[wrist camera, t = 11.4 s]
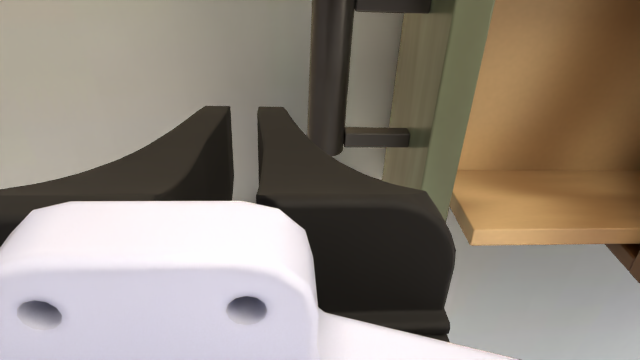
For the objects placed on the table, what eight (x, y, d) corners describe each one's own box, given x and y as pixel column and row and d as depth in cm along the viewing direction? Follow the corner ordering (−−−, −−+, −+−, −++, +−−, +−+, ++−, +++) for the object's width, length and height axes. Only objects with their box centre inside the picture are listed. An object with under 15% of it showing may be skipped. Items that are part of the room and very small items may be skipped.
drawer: (300, 183, 23) (307, 262, 19) (311, -148, 17) (325, -158, 12) (630, 183, 25) (715, 256, 20) (766, -121, 18) (945, -120, 13)
